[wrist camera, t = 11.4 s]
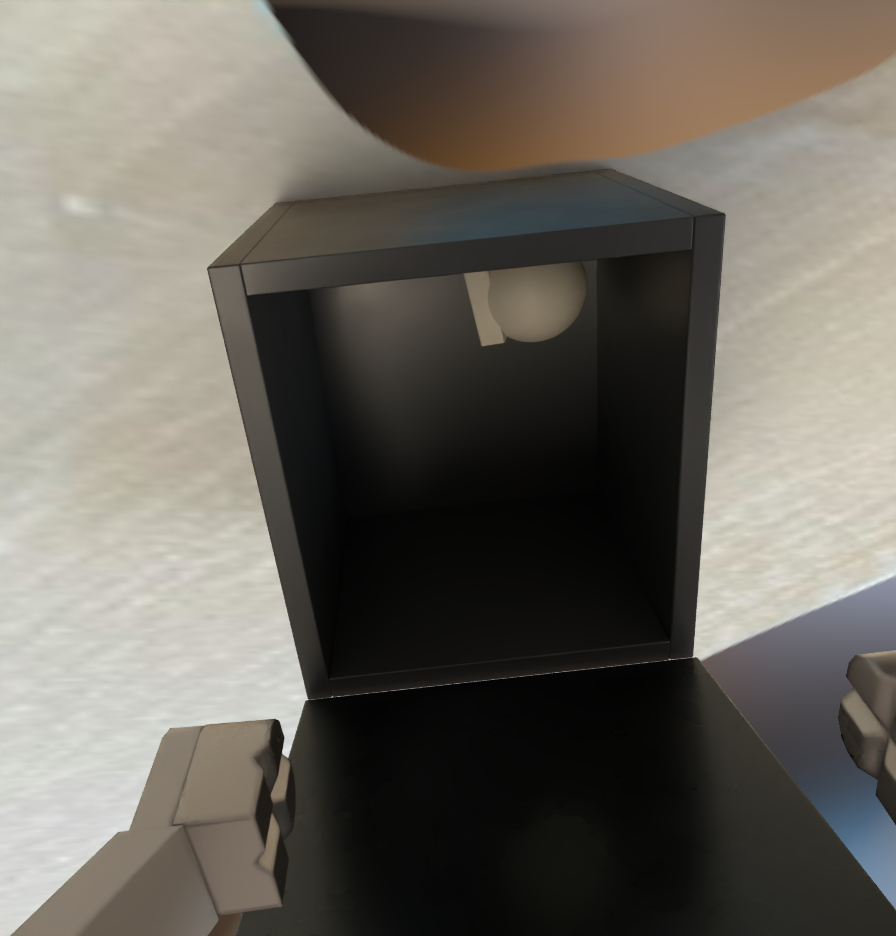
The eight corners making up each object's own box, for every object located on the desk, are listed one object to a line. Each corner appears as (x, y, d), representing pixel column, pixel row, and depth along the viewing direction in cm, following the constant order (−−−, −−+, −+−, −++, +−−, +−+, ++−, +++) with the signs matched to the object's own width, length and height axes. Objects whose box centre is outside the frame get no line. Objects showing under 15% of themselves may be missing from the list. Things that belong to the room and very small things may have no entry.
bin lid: (131, 1275, 11) (190, 1510, 12) (1096, 1162, 11) (1072, 1403, 12) (304, 699, 27) (323, 820, 28) (697, 656, 27) (702, 778, 28)
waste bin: (273, 203, 32) (206, 267, 21) (612, 168, 32) (727, 212, 21) (333, 525, 39) (307, 700, 28) (610, 495, 39) (693, 657, 28)
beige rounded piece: (457, 233, 29) (569, 209, 28) (488, 252, 33) (587, 232, 32) (471, 347, 29) (583, 328, 28) (500, 352, 34) (599, 336, 32)
